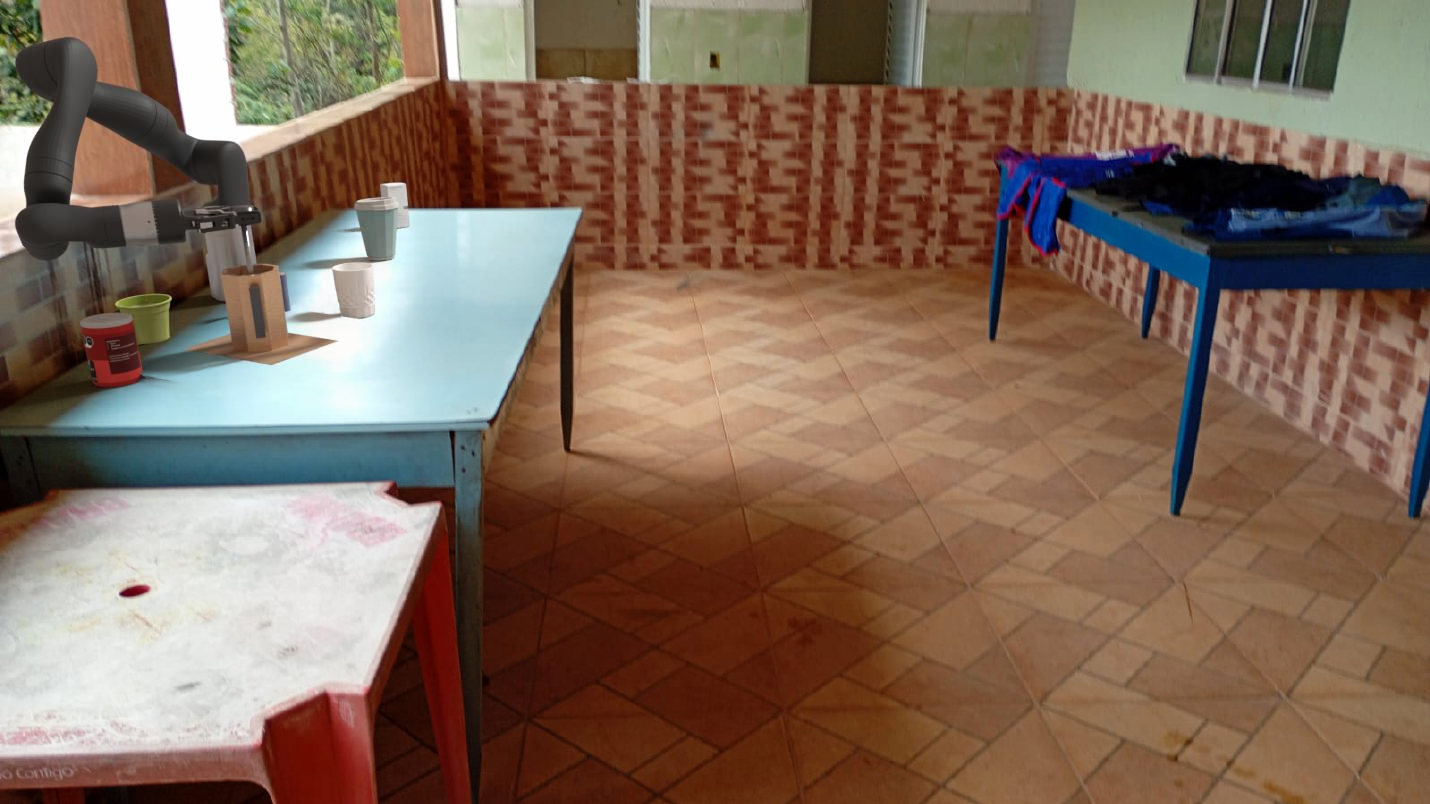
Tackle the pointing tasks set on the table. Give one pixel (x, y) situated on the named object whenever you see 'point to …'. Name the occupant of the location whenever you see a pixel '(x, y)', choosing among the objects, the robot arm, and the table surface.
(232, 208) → the plunger
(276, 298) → the press beaker
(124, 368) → the canned food
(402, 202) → the skincare box
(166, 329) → the plant pot
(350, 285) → the white cup
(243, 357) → the walnut board
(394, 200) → the disposable coffee cup
